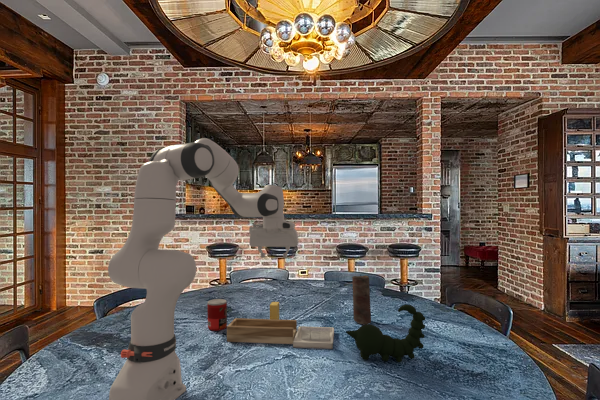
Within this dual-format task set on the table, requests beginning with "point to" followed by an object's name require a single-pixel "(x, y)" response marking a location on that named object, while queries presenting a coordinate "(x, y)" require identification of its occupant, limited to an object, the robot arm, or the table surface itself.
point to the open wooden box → (262, 331)
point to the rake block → (274, 310)
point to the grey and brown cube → (325, 334)
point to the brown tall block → (361, 299)
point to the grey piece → (315, 334)
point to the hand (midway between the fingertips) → (274, 257)
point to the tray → (313, 344)
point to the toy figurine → (390, 339)
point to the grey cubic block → (306, 333)
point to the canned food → (217, 314)
